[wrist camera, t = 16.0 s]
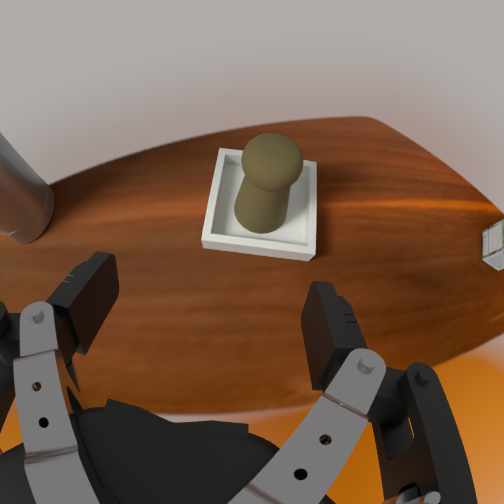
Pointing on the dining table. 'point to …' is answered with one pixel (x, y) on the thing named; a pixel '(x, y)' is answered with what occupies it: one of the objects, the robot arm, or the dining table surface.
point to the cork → (267, 181)
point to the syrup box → (494, 245)
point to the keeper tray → (243, 241)
